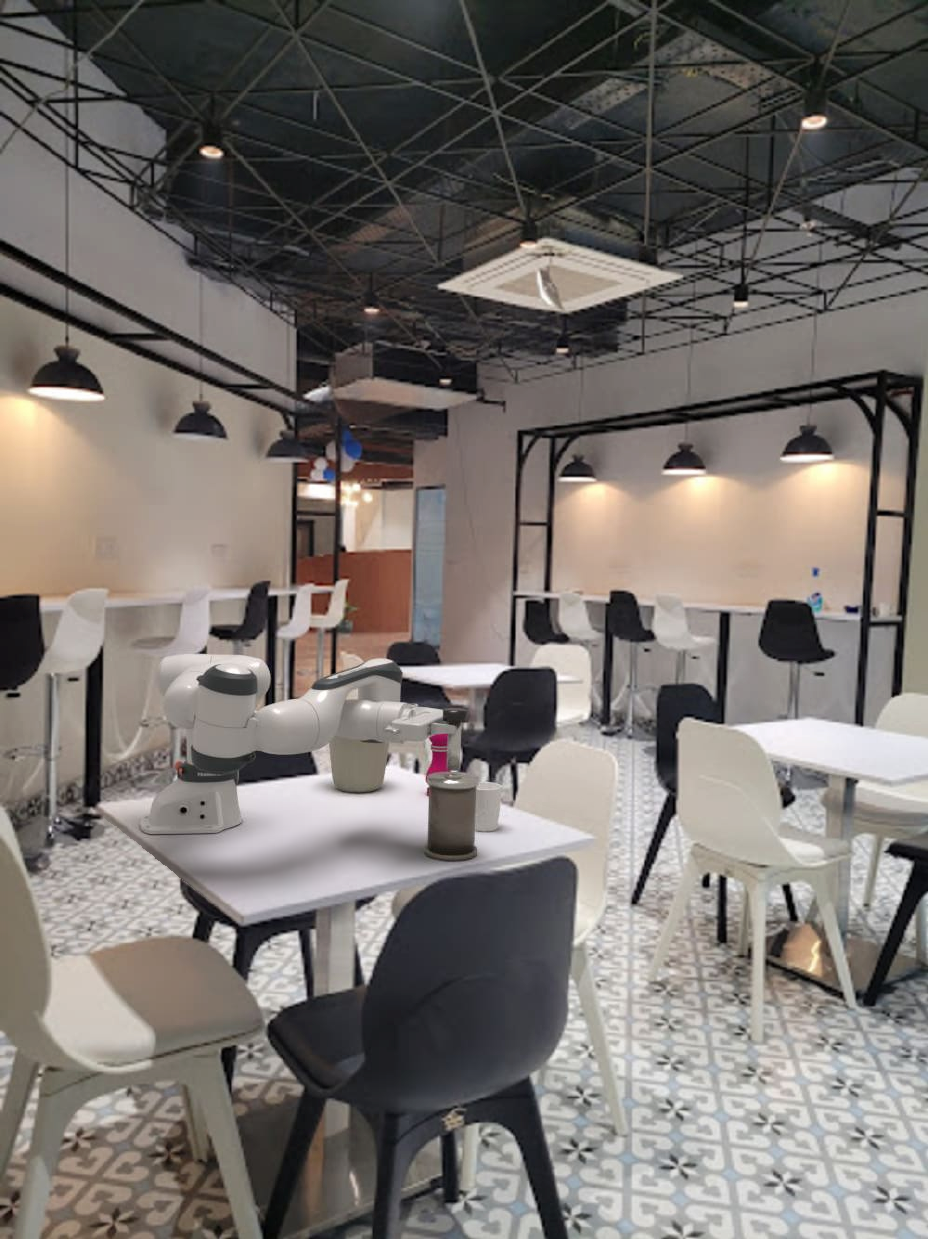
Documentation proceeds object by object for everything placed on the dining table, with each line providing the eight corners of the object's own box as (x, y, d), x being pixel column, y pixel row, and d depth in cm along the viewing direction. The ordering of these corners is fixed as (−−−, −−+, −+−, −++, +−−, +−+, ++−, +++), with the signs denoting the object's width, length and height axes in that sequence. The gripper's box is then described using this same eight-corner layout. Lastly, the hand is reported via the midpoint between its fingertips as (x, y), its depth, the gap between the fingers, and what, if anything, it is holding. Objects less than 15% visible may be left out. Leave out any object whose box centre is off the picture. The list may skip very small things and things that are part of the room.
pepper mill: (453, 792, 244) (455, 719, 243) (450, 799, 237) (452, 723, 236) (426, 791, 245) (429, 718, 244) (423, 797, 238) (425, 722, 237)
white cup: (504, 825, 214) (505, 783, 213) (494, 834, 206) (496, 791, 206) (472, 821, 216) (474, 780, 216) (462, 830, 209) (463, 787, 208)
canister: (378, 779, 258) (380, 705, 256) (401, 793, 241) (403, 715, 240) (316, 783, 250) (318, 707, 249) (336, 799, 233) (338, 718, 232)
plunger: (445, 772, 187) (447, 712, 186) (437, 767, 192) (439, 708, 191) (469, 771, 189) (471, 711, 188) (460, 766, 194) (462, 707, 193)
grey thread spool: (434, 863, 184) (436, 781, 183) (417, 847, 195) (419, 769, 194) (485, 858, 188) (487, 778, 187) (465, 843, 199) (468, 766, 198)
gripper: (379, 714, 184) (443, 719, 180) (413, 702, 203) (472, 706, 199) (378, 745, 184) (442, 751, 180) (413, 730, 204) (471, 735, 199)
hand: (458, 727), depth 190 cm, fingers closed on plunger, 3 cm apart
